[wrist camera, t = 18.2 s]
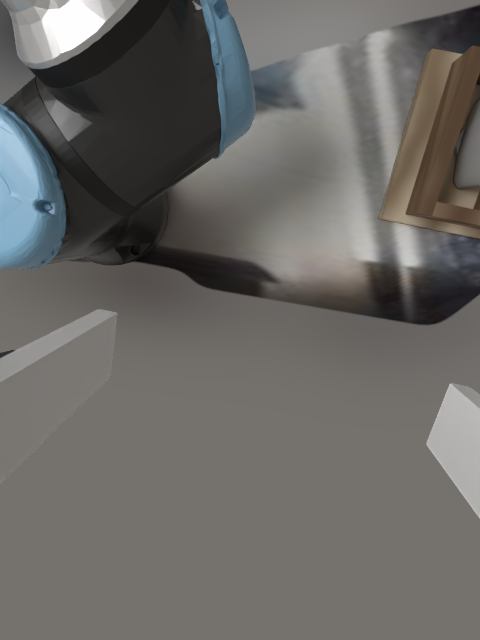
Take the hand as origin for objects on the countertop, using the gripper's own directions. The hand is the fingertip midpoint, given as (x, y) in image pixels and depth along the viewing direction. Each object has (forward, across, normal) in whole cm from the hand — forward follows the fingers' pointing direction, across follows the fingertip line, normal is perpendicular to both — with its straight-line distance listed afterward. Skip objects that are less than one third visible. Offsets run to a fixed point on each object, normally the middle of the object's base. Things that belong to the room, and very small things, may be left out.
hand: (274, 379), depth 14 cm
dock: (+35, +19, +18) cm, 43 cm away
